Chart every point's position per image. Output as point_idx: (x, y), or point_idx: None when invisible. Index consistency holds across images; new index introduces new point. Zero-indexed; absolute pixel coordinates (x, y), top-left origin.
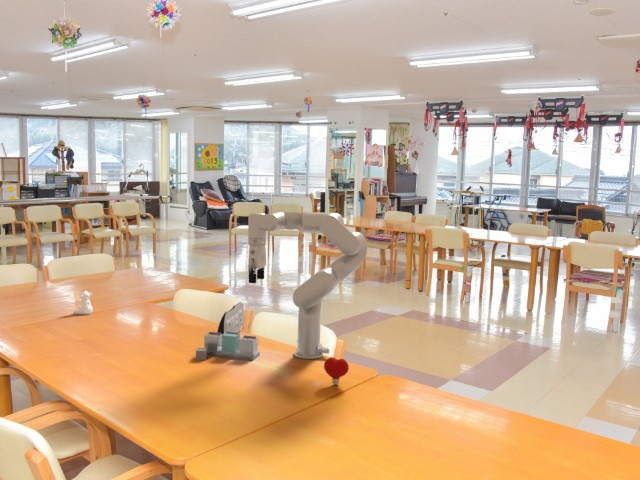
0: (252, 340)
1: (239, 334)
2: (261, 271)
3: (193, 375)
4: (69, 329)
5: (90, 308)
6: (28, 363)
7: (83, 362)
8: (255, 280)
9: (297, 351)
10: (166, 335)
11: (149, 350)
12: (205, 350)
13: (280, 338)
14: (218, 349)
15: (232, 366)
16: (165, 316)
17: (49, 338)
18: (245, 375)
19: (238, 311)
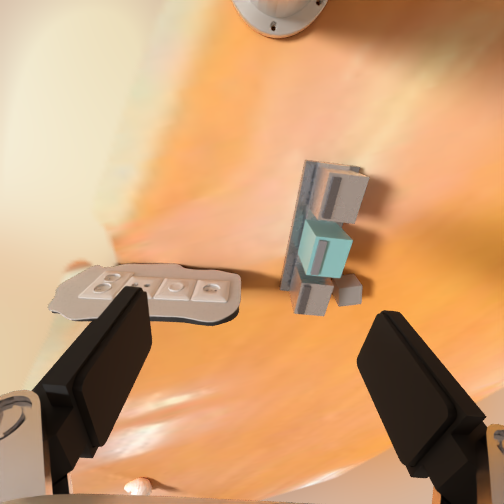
0: (365, 180)
1: (318, 235)
2: (98, 391)
3: (450, 267)
4: (224, 469)
5: (140, 489)
6: (372, 453)
7: (368, 416)
8: (415, 334)
9: (287, 15)
10: (210, 375)
11: (302, 370)
12: (359, 286)
13: (130, 133)
14: None
15: (399, 206)
16: None
17: (269, 470)
18: (471, 155)
19: (110, 299)
